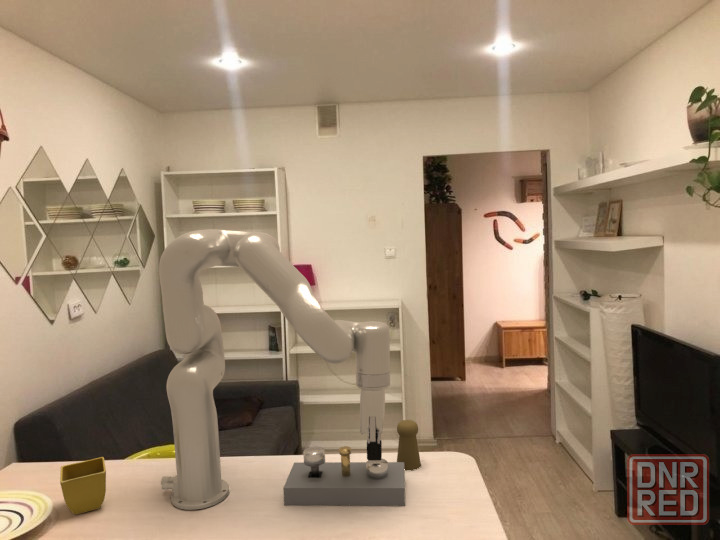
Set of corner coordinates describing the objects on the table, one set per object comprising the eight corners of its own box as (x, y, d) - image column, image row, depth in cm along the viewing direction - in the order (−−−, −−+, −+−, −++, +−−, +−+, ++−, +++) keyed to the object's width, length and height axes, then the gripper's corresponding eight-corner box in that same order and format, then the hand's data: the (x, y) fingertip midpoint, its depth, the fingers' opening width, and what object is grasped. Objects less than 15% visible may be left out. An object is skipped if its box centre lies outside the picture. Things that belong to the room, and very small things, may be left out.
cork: (419, 471, 131) (418, 427, 130) (394, 469, 132) (393, 426, 131) (422, 460, 137) (420, 417, 136) (398, 458, 138) (396, 416, 137)
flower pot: (63, 522, 115) (59, 482, 114) (64, 504, 122) (60, 465, 121) (109, 511, 119) (106, 471, 118) (107, 493, 126) (104, 456, 125)
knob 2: (366, 495, 120) (365, 467, 119) (367, 484, 125) (366, 458, 124) (388, 495, 120) (387, 467, 119) (388, 484, 124) (388, 458, 124)
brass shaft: (339, 477, 121) (338, 451, 121) (341, 471, 124) (339, 446, 123) (351, 477, 121) (350, 451, 120) (352, 471, 124) (351, 446, 123)
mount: (284, 505, 118) (283, 487, 118) (295, 478, 130) (294, 462, 129) (405, 505, 116) (404, 488, 116) (404, 478, 128) (404, 462, 127)
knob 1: (303, 483, 121) (301, 455, 120) (306, 472, 126) (305, 446, 125) (324, 483, 121) (323, 455, 120) (327, 472, 125) (326, 446, 125)
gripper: (358, 368, 127) (360, 444, 129) (352, 389, 113) (354, 474, 114) (390, 368, 127) (391, 444, 129) (389, 389, 112) (390, 475, 114)
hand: (374, 458), depth 122 cm, fingers closed
